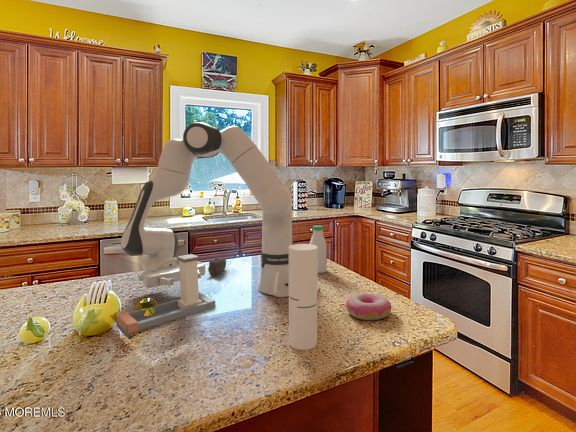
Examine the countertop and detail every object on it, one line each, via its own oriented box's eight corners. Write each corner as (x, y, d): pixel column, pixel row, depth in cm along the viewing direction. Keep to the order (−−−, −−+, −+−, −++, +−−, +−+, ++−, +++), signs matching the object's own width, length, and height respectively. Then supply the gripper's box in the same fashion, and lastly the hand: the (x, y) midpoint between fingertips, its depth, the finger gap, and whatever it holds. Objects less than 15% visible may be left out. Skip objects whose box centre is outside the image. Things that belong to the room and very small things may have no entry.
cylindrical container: (298, 333, 92) (298, 242, 88) (321, 340, 88) (322, 246, 84) (283, 344, 86) (282, 247, 82) (307, 352, 82) (307, 251, 78)
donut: (388, 306, 110) (388, 292, 109) (393, 325, 97) (394, 308, 96) (346, 304, 112) (346, 289, 111) (345, 321, 99) (346, 305, 98)
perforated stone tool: (219, 268, 154) (219, 253, 153) (230, 268, 153) (230, 253, 152) (205, 278, 139) (204, 261, 138) (217, 279, 138) (216, 262, 137)
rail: (199, 302, 114) (199, 290, 113) (215, 311, 106) (215, 299, 106) (116, 326, 96) (115, 313, 95) (128, 339, 89) (127, 324, 88)
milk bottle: (325, 273, 144) (326, 227, 142) (307, 272, 146) (307, 227, 143) (327, 268, 152) (327, 224, 149) (310, 267, 153) (310, 224, 151)
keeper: (193, 301, 109) (191, 253, 107) (202, 306, 105) (200, 256, 103) (177, 306, 106) (175, 256, 104) (185, 311, 102) (183, 259, 100)
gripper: (134, 267, 109) (151, 276, 99) (193, 256, 123) (213, 263, 113) (136, 286, 110) (152, 297, 100) (194, 273, 124) (214, 281, 114)
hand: (185, 279), depth 106 cm, fingers open, 8 cm apart
